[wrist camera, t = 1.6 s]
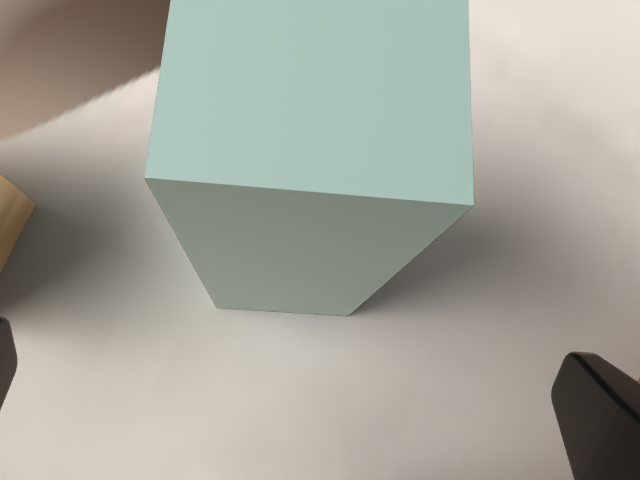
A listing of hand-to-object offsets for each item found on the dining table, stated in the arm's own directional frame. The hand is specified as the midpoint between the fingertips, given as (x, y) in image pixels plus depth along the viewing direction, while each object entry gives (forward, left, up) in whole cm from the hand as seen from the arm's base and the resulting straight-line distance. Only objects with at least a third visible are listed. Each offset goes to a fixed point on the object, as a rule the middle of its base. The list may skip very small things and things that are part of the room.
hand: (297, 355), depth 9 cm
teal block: (+4, +3, -12) cm, 13 cm away
